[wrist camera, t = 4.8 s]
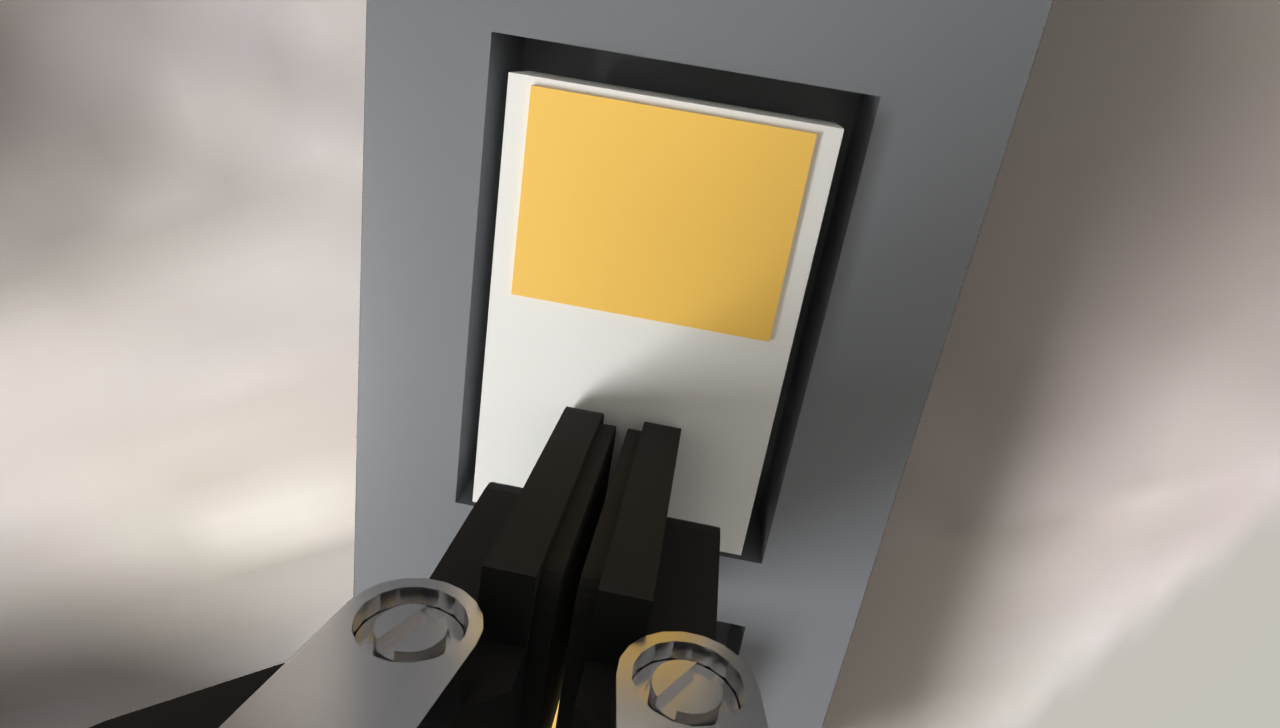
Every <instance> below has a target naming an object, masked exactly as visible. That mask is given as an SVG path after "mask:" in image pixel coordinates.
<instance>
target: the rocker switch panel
mask: <svg viewBox="0 0 1280 728" xmlns="http://www.w3.org/2000/svg"><path fill="white" fill-rule="evenodd" d="M1052 2H1053V0H367V11H366V55H365V100H364V145H363V190H362V235H361V280H360V324H359V369H358V414H357V459H356V504H355V549H354V593H353V598H354V597H355V596H357V595H358V594H359V593H361V592H362V591H364V590H365V589H368V588H370V587H373V586H375V585H378V584H380V583H383V582H387V581H392V580H397V579H403V578H428V579H429V578H430V576H431V575H432V573H433V572H434V570H435V568H436V567H437V565H438V563H439V562H440V560H441V559H442V557H443V555H444V554H445V552H446V551H447V549H448V547H449V546H450V544H451V542H452V541H453V539H454V538H455V536H456V534H457V533H458V531H459V530H460V528H461V526H462V525H463V523H464V521H465V520H466V518H467V517H468V515H469V513H470V512H471V510H472V509H473V507H474V505H475V504H476V502H472V500H473V488H474V476H475V465H476V453H477V441H478V429H479V417H480V405H481V393H482V382H483V370H484V358H485V346H486V334H487V322H488V310H489V299H490V287H491V275H492V263H493V251H494V239H495V227H496V216H497V204H498V192H499V180H500V168H501V156H502V144H503V133H504V121H505V109H506V97H507V85H508V73H509V72H517V71H535V72H541V73H546V74H552V75H558V76H564V77H570V78H576V79H582V80H588V81H594V82H600V83H606V84H611V85H617V86H623V87H629V88H635V89H641V90H647V91H653V92H659V93H665V94H671V95H677V96H682V97H688V98H694V99H700V100H706V101H712V102H718V103H724V104H730V105H736V106H742V107H747V108H753V109H759V110H765V111H771V112H777V113H783V114H789V115H795V116H801V117H807V118H812V119H818V120H824V121H830V122H835V123H837V124H838V125H839V126H841V127H842V128H844V133H843V137H842V141H841V145H840V149H839V153H838V157H837V161H836V166H835V170H834V174H833V178H832V182H831V186H830V190H829V194H828V199H827V203H826V207H825V211H824V215H823V219H822V223H821V227H820V232H819V236H818V240H817V244H816V248H815V252H814V256H813V260H812V265H811V269H810V273H809V277H808V281H807V285H806V289H805V293H804V298H803V302H802V306H801V310H800V314H799V318H798V322H797V326H796V331H795V335H794V339H793V343H792V347H791V351H790V355H789V359H788V364H787V368H786V372H785V376H784V380H783V384H782V388H781V392H780V397H779V401H778V405H777V409H776V413H775V417H774V421H773V425H772V430H771V434H770V438H769V442H768V446H767V450H766V454H765V458H764V463H763V467H762V471H761V475H760V479H759V483H758V487H757V491H756V496H755V500H754V504H753V508H752V512H751V516H750V520H749V524H748V529H747V533H746V537H745V541H744V545H743V549H742V553H741V555H736V554H731V553H726V552H721V551H720V557H719V581H718V605H717V629H716V642H718V643H721V644H723V645H724V646H726V647H727V648H728V649H730V650H731V651H733V652H734V653H735V654H737V655H738V656H739V657H740V658H741V659H742V660H743V661H744V662H745V663H746V665H747V666H748V667H749V668H750V669H751V671H752V672H753V674H754V676H755V679H756V681H757V683H758V686H759V688H760V693H761V697H762V701H763V706H764V710H765V714H766V719H767V723H768V728H822V725H823V722H824V719H825V716H826V713H827V710H828V706H829V703H830V700H831V697H832V694H833V691H834V688H835V684H836V681H837V678H838V675H839V672H840V669H841V666H842V662H843V659H844V656H845V653H846V650H847V647H848V644H849V640H850V637H851V634H852V631H853V628H854V625H855V622H856V618H857V615H858V612H859V609H860V606H861V603H862V600H863V596H864V593H865V590H866V587H867V584H868V581H869V578H870V574H871V571H872V568H873V565H874V562H875V559H876V556H877V552H878V549H879V546H880V543H881V540H882V537H883V534H884V530H885V527H886V524H887V521H888V518H889V515H890V512H891V508H892V505H893V502H894V499H895V496H896V493H897V490H898V486H899V483H900V480H901V477H902V474H903V471H904V468H905V464H906V461H907V458H908V455H909V452H910V449H911V446H912V442H913V439H914V436H915V433H916V430H917V427H918V424H919V420H920V417H921V414H922V411H923V408H924V405H925V401H926V398H927V395H928V392H929V389H930V386H931V383H932V379H933V376H934V373H935V370H936V367H937V364H938V361H939V357H940V354H941V351H942V348H943V345H944V342H945V339H946V335H947V332H948V329H949V326H950V323H951V320H952V317H953V313H954V310H955V307H956V304H957V301H958V298H959V295H960V291H961V288H962V285H963V282H964V279H965V276H966V273H967V269H968V266H969V263H970V260H971V257H972V254H973V251H974V247H975V244H976V241H977V238H978V235H979V232H980V229H981V225H982V222H983V219H984V216H985V213H986V210H987V207H988V203H989V200H990V197H991V194H992V191H993V188H994V185H995V181H996V178H997V175H998V172H999V169H1000V166H1001V163H1002V159H1003V156H1004V153H1005V150H1006V147H1007V144H1008V141H1009V137H1010V134H1011V131H1012V128H1013V125H1014V122H1015V119H1016V115H1017V112H1018V109H1019V106H1020V103H1021V100H1022V97H1023V93H1024V90H1025V87H1026V84H1027V81H1028V78H1029V75H1030V71H1031V68H1032V65H1033V62H1034V59H1035V56H1036V53H1037V49H1038V46H1039V43H1040V40H1041V37H1042V34H1043V30H1044V27H1045V24H1046V21H1047V18H1048V15H1049V12H1050V8H1051V5H1052Z"/></svg>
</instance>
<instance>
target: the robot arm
mask: <svg viewBox="0 0 1280 728" xmlns="http://www.w3.org/2000/svg"><path fill="white" fill-rule="evenodd" d="M603 423H604V414H603V413H598V412H593V411H588V410H583V409H578V408H572V407H567V406H566V408H565V409H564V411H563V413H562V415H561V417H560V419H559V421H558V422H557V424H556V426H555V428H554V430H553V432H552V434H551V436H550V438H549V440H548V441H547V443H546V445H545V447H544V449H543V451H542V453H541V455H540V457H539V458H538V460H537V462H536V464H535V466H534V468H533V470H532V472H531V474H530V476H529V477H528V479H527V481H526V483H525V485H524V487H523V488H521V487H516V486H511V485H506V484H501V483H496V482H490V483H489V484H488V485H487V486H486V488H485V489H484V491H483V492H482V494H481V496H480V497H479V499H478V501H477V502H476V504H475V505H474V507H473V509H472V510H471V512H470V513H469V515H468V517H467V518H466V520H465V521H464V523H463V525H462V526H461V528H460V530H459V531H458V533H457V534H456V536H455V538H454V539H453V541H452V542H451V544H450V546H449V547H448V549H447V551H446V552H445V554H444V555H443V557H442V559H441V560H440V562H439V563H438V565H437V567H436V568H435V570H434V572H433V573H432V575H431V576H430V578H429V579H428V578H403V579H397V580H392V581H387V582H383V583H380V584H378V585H375V586H373V587H370V588H368V589H365V590H364V591H362V592H361V593H359V594H358V595H357V596H355V597H354V598H352V599H351V600H350V601H348V602H347V603H346V604H345V605H344V606H343V607H342V608H341V609H340V610H339V611H338V612H337V613H336V614H335V615H334V616H333V617H332V618H331V619H330V620H329V621H328V622H327V623H326V624H325V625H324V626H323V627H322V628H321V629H320V630H319V631H318V632H316V633H315V634H314V635H313V636H312V637H311V638H310V639H309V640H308V641H307V642H306V643H305V644H304V645H303V646H302V647H301V648H300V649H299V650H298V651H297V652H296V653H295V654H294V655H293V656H292V657H291V658H290V659H289V660H288V661H287V662H286V663H283V664H280V665H276V666H273V667H270V668H267V669H264V670H261V671H258V672H255V673H252V674H249V675H246V676H243V677H239V678H236V679H233V680H230V681H227V682H224V683H221V684H218V685H215V686H212V687H209V688H206V689H203V690H199V691H196V692H193V693H190V694H187V695H184V696H181V697H178V698H175V699H172V700H169V701H166V702H163V703H159V704H156V705H153V706H150V707H147V708H144V709H141V710H138V711H135V712H132V713H129V714H126V715H122V716H119V717H116V718H113V719H110V720H107V721H104V722H102V723H100V724H97V725H95V726H92V727H90V728H552V725H553V721H554V718H555V714H556V711H557V707H558V704H559V708H558V715H557V721H556V728H768V723H767V719H766V714H765V710H764V706H763V701H762V697H761V693H760V688H759V686H758V683H757V681H756V679H755V676H754V674H753V672H752V671H751V669H750V668H749V667H748V666H747V665H746V663H745V662H744V661H743V660H742V659H741V658H740V657H739V656H738V655H737V654H735V653H734V652H733V651H731V650H730V649H728V648H727V647H726V646H724V645H723V644H721V643H718V642H716V629H717V605H718V581H719V557H720V527H716V526H711V525H706V524H701V523H696V522H691V521H686V520H681V519H676V518H671V517H667V514H668V508H669V502H670V496H671V490H672V484H673V478H674V472H675V465H676V459H677V453H678V447H679V441H680V435H681V428H676V427H671V426H665V425H660V424H655V423H650V422H644V425H643V429H642V431H639V430H634V429H628V430H627V433H626V436H625V439H624V442H623V445H622V448H621V451H620V455H619V458H618V461H617V464H616V467H615V470H614V473H613V477H612V480H611V483H610V486H609V489H608V492H607V495H606V491H607V485H608V479H609V473H610V467H611V460H612V454H613V448H614V442H615V435H616V426H613V425H608V424H603ZM605 498H606V499H605ZM559 700H560V702H559Z"/></svg>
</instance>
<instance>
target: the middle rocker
mask: <svg viewBox="0 0 1280 728" xmlns="http://www.w3.org/2000/svg"><path fill="white" fill-rule="evenodd" d="M843 133H844V128H842V127H841V126H839V125H838V124H837V123H835V122H830V121H824V120H818V119H812V118H807V117H801V116H795V115H789V114H783V113H777V112H771V111H765V110H759V109H753V108H747V107H742V106H736V105H730V104H724V103H718V102H712V101H706V100H700V99H694V98H688V97H682V96H677V95H671V94H665V93H659V92H653V91H647V90H641V89H635V88H629V87H623V86H617V85H611V84H606V83H600V82H594V81H588V80H582V79H576V78H570V77H564V76H558V75H552V74H546V73H541V72H535V71H517V72H509V73H508V85H507V97H506V109H505V121H504V133H503V144H502V156H501V168H500V180H499V192H498V204H497V216H496V227H495V239H494V251H493V263H492V275H491V287H490V299H489V310H488V322H487V334H486V346H485V358H484V370H483V382H482V393H481V405H480V417H479V429H478V441H477V453H476V465H475V476H474V488H473V500H472V502H477V501H478V499H479V497H480V496H481V494H482V492H483V491H484V489H485V488H486V486H487V485H488V484H489V483H490V482H496V483H501V484H506V485H511V486H516V487H521V488H523V487H524V485H525V483H526V481H527V479H528V477H529V476H530V474H531V472H532V470H533V468H534V466H535V464H536V462H537V460H538V458H539V457H540V455H541V453H542V451H543V449H544V447H545V445H546V443H547V441H548V440H549V438H550V436H551V434H552V432H553V430H554V428H555V426H556V424H557V422H558V421H559V419H560V417H561V415H562V413H563V411H564V409H565V408H566V406H567V407H572V408H578V409H583V410H588V411H593V412H598V413H603V414H604V423H603V424H608V425H613V426H616V435H615V442H614V448H613V454H612V460H611V467H610V473H609V479H608V485H607V491H606V495H607V492H608V489H609V486H610V483H611V480H612V477H613V473H614V470H615V467H616V464H617V461H618V458H619V455H620V451H621V448H622V445H623V442H624V439H625V436H626V433H627V430H628V429H634V430H639V431H642V429H643V425H644V422H650V423H655V424H660V425H665V426H671V427H676V428H681V435H680V441H679V447H678V453H677V459H676V465H675V472H674V478H673V484H672V490H671V496H670V502H669V508H668V514H667V517H671V518H676V519H681V520H686V521H691V522H696V523H701V524H706V525H711V526H716V527H720V551H721V552H726V553H731V554H736V555H741V553H742V549H743V545H744V541H745V537H746V533H747V529H748V524H749V520H750V516H751V512H752V508H753V504H754V500H755V496H756V491H757V487H758V483H759V479H760V475H761V471H762V467H763V463H764V458H765V454H766V450H767V446H768V442H769V438H770V434H771V430H772V425H773V421H774V417H775V413H776V409H777V405H778V401H779V397H780V392H781V388H782V384H783V380H784V376H785V372H786V368H787V364H788V359H789V355H790V351H791V347H792V343H793V339H794V335H795V331H796V326H797V322H798V318H799V314H800V310H801V306H802V302H803V298H804V293H805V289H806V285H807V281H808V277H809V273H810V269H811V265H812V260H813V256H814V252H815V248H816V244H817V240H818V236H819V232H820V227H821V223H822V219H823V215H824V211H825V207H826V203H827V199H828V194H829V190H830V186H831V182H832V178H833V174H834V170H835V166H836V161H837V157H838V153H839V149H840V145H841V141H842V137H843ZM605 499H606V498H605Z"/></svg>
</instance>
